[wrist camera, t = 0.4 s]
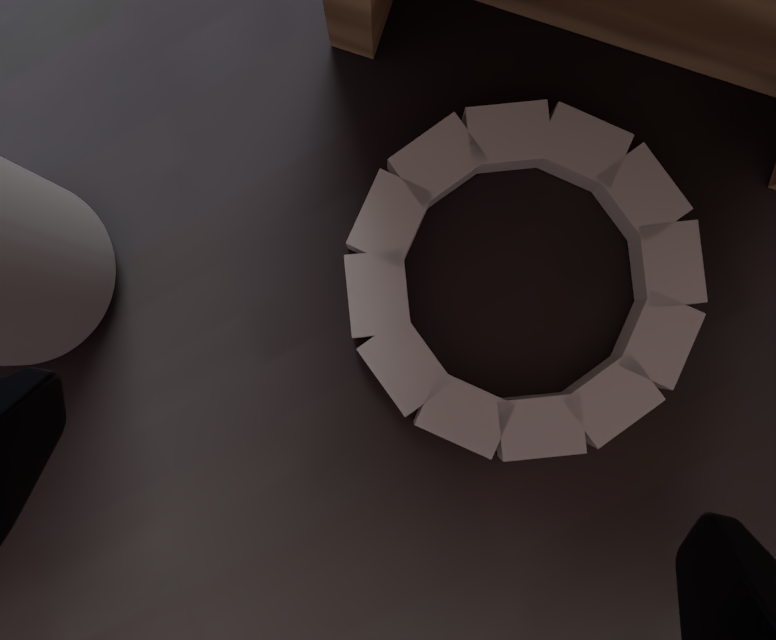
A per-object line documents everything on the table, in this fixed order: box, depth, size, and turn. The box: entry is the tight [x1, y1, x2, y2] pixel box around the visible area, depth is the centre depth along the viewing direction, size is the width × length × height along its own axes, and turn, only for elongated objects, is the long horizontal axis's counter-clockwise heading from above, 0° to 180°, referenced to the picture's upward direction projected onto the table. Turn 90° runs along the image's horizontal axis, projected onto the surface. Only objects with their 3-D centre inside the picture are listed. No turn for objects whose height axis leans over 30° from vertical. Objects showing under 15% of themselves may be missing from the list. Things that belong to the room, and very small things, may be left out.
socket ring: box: [344, 99, 708, 462], centre depth 23 cm, size 12×12×1 cm
